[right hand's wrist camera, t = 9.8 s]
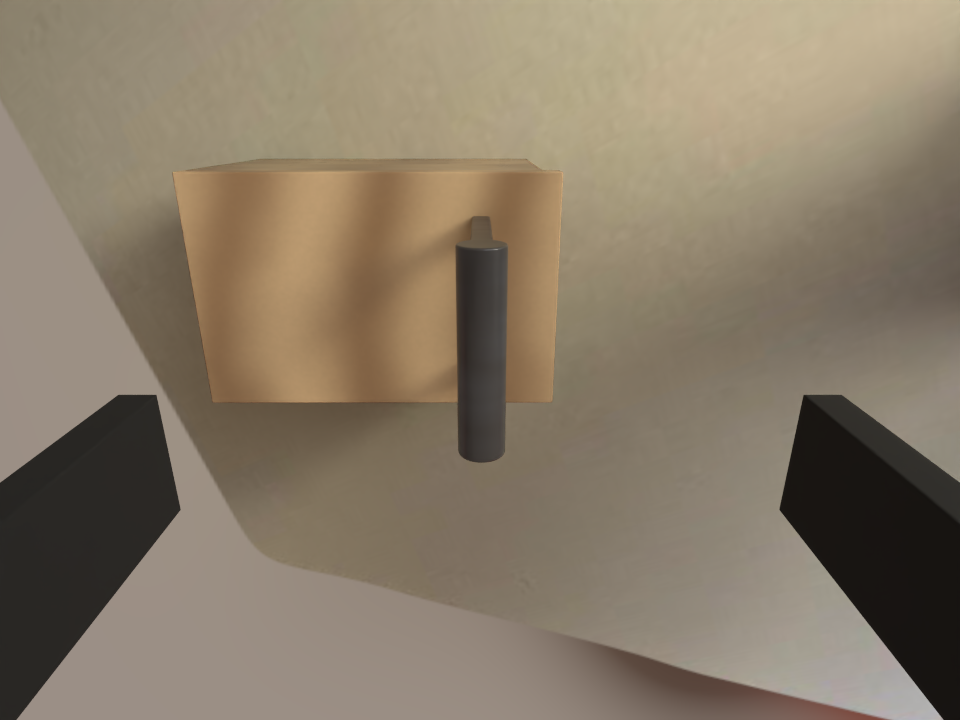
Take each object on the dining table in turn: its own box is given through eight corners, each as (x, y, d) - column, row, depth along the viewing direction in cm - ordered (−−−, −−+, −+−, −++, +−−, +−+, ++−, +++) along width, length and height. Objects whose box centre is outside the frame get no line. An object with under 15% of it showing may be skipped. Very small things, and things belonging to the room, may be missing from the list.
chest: (527, 159, 32) (543, 170, 24) (522, 331, 35) (535, 393, 27) (259, 158, 32) (183, 170, 24) (281, 331, 35) (221, 393, 27)
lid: (560, 170, 23) (600, 192, 16) (550, 394, 27) (579, 503, 19) (182, 170, 23) (34, 192, 16) (220, 394, 27) (114, 503, 19)
